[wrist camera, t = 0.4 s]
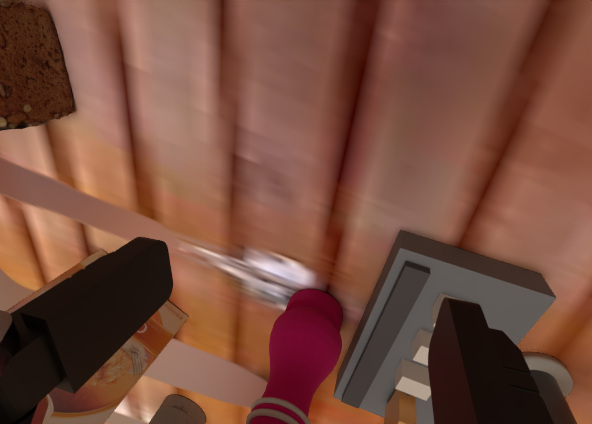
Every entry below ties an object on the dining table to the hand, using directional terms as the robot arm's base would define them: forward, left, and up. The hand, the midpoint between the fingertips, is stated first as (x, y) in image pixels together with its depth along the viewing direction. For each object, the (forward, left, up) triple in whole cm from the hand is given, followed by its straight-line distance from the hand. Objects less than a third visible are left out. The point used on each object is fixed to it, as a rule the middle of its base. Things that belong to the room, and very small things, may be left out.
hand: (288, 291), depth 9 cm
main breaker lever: (+24, +12, -17) cm, 32 cm away
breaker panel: (+18, +12, -20) cm, 29 cm away
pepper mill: (+20, +1, -20) cm, 28 cm away
